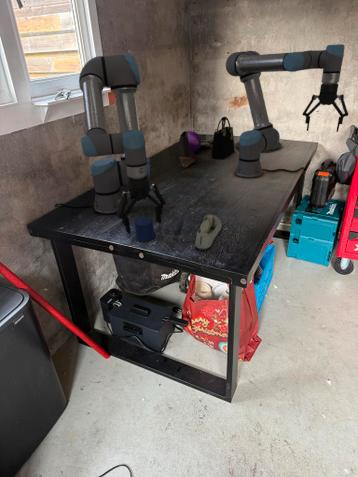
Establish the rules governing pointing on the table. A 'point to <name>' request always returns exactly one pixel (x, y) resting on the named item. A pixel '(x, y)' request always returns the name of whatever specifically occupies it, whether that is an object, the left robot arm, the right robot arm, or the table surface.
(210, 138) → the pair of gloves
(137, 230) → the canister
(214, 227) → the ballet flat
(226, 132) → the handbag
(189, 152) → the boot
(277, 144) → the miniature village
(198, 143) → the decorative orb
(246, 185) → the table surface
